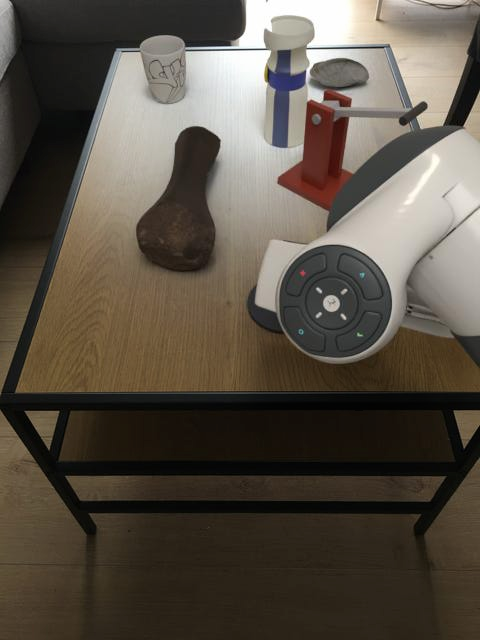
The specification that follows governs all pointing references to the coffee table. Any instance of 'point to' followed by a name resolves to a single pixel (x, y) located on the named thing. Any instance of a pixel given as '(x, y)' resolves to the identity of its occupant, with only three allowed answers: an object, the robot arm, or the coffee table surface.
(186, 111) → the coffee table surface
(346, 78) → the seashell
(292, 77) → the water bottle
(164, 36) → the mug
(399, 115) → the lever
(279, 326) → the coaster
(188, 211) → the dark brown bone
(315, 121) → the bracket
